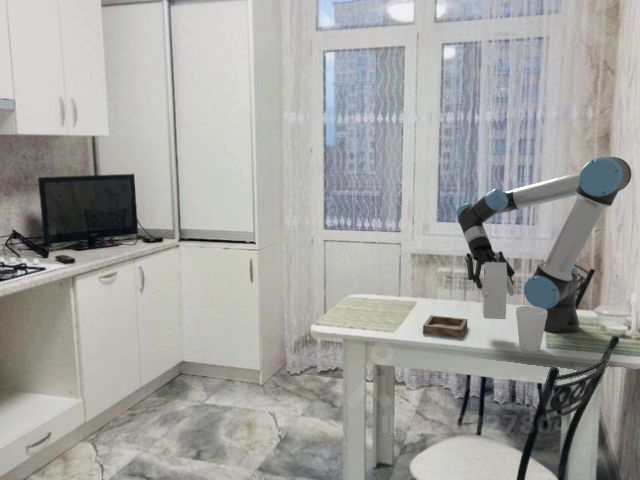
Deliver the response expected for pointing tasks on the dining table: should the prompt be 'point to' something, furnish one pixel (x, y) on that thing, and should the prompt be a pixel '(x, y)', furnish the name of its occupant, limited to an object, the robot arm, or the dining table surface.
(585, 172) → the robot arm
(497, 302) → the milk carton
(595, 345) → the dining table surface
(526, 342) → the foam cup
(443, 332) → the tray
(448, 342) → the dining table surface
